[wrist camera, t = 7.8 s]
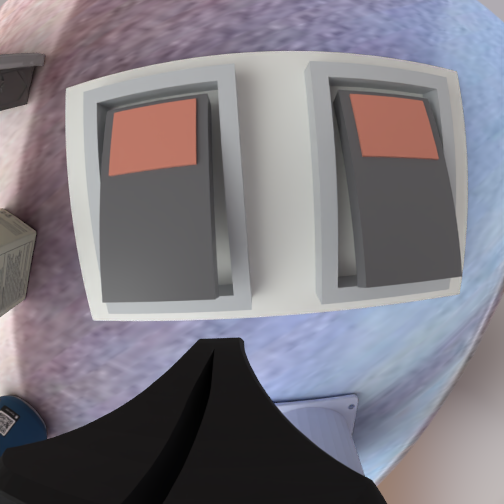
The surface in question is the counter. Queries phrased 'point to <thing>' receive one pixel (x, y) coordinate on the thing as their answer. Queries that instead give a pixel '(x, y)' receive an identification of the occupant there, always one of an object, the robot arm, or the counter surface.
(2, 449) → the soda can
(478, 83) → the counter surface
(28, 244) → the skincare box
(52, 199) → the counter surface
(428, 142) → the rocker
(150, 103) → the rocker
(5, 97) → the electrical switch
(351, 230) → the breaker panel
